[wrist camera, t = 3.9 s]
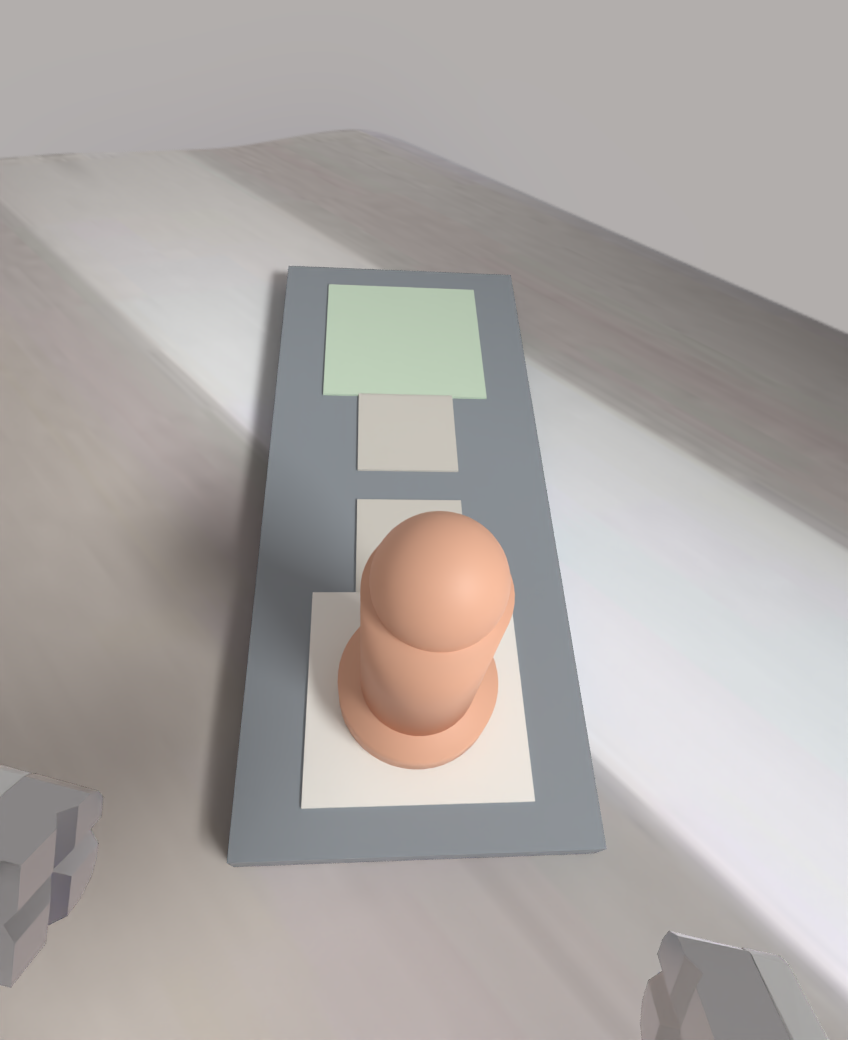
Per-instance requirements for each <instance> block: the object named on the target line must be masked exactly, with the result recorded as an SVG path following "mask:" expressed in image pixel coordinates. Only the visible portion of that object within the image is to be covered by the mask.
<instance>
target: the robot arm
mask: <svg viewBox="0 0 848 1040" xmlns="http://www.w3.org/2000/svg"><path fill="white" fill-rule="evenodd" d="M102 805H103V796H102V794H101V793H100V792H99V791H98V790H95V789H91V788H87V787H84V786H80V785H76V784H73V783H69V782H65V781H62V780H58V779H54V778H51V777H47V776H43V775H40V774H36V773H34V774H32V773H30V772H26V771H23V770H19V769H15V768H12V767H8V766H4V765H0V985H2V986H7V987H12V986H13V984H14V983H15V982H16V981H17V979H18V978H19V977H20V975H21V974H22V973H23V972H24V970H25V969H26V968H27V967H28V965H29V964H30V963H31V962H32V960H33V959H34V958H35V956H36V955H37V954H38V953H39V951H40V950H41V949H42V948H43V946H44V945H45V944H46V937H47V928H48V925H50V924H52V923H54V922H56V921H58V920H60V919H62V918H64V917H66V916H68V914H69V913H70V912H71V910H72V909H73V908H74V906H75V905H76V904H77V902H78V901H79V900H80V898H81V896H82V894H83V892H84V890H85V888H86V886H87V884H88V882H89V880H90V878H91V876H92V873H93V869H94V866H95V863H96V859H97V852H98V844H99V843H98V841H97V840H96V838H95V836H94V834H93V832H92V830H91V828H92V827H93V826H94V825H95V824H96V822H97V821H98V820H99V819H100V818H101V817H102ZM657 955H658V958H659V961H660V965H661V968H662V971H661V972H660V973H658V974H657V975H655V976H654V977H652V978H651V979H649V980H648V982H647V986H646V989H645V992H644V996H643V999H642V1007H641V1020H640V1028H641V1039H642V1040H829V1039H828V1037H827V1036H826V1034H825V1032H824V1030H823V1028H822V1026H821V1024H820V1022H819V1020H818V1018H817V1017H816V1015H815V1013H814V1011H813V1009H812V1007H811V1005H810V1003H809V1001H808V1000H807V998H806V996H805V994H804V992H803V990H802V988H801V986H800V984H799V983H798V981H797V979H796V977H795V975H794V973H793V971H792V969H791V967H790V966H789V964H788V963H787V962H786V961H785V960H784V959H783V958H782V957H781V956H780V955H775V954H770V953H766V952H761V951H757V950H752V949H748V948H739V947H735V946H731V945H727V944H722V943H718V942H714V941H710V940H706V939H701V938H697V937H693V936H689V935H685V934H680V933H676V932H672V931H669V932H668V933H667V934H666V935H665V936H664V938H663V939H662V942H661V945H660V947H659V950H658V953H657Z"/></svg>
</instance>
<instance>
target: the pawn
mask: <svg viewBox="0 0 848 1040" xmlns="http://www.w3.org/2000/svg"><path fill="white" fill-rule="evenodd" d="M514 604H515V591H514V584H513V580H512V576H511V574H510V569H509V565H508V561H507V558H506V555H505V553H504V550H503V549H502V547H501V545H500V544H499V542H498V541H497V540H496V538H495V537H494V536H493V534H492V533H491V532H490V531H489V530H488V529H487V528H485V527H484V526H483V525H482V524H480V523H479V522H477V521H475V520H474V519H472V518H470V517H467V516H465V515H462V514H458V513H454V512H448V511H431V512H425V513H421V514H418V515H415V516H412V517H410V518H408V519H406V520H404V521H403V522H401V523H400V524H398V525H397V526H396V527H394V528H393V529H392V530H391V531H390V532H389V533H388V534H387V536H386V537H385V538H384V539H383V540H382V542H381V543H380V544H379V545H378V547H377V548H376V549H375V550H374V551H373V553H372V554H371V556H370V557H369V559H368V561H367V563H366V565H365V567H364V570H363V573H362V578H361V584H360V627H359V628H358V629H357V630H356V632H355V633H354V634H353V635H352V637H351V638H350V640H349V641H348V643H347V645H346V647H345V649H344V651H343V654H342V657H341V660H340V664H339V669H338V693H339V703H340V708H341V713H342V716H343V719H344V721H345V724H346V726H347V728H348V729H349V731H350V733H351V734H352V736H353V737H354V739H355V740H356V741H357V742H358V743H359V744H360V746H361V747H362V748H363V749H364V750H366V751H367V752H368V753H369V754H371V755H372V756H374V757H375V758H377V759H379V760H380V761H382V762H385V763H387V764H389V765H392V766H396V767H400V768H405V769H428V768H434V767H438V766H441V765H444V764H446V763H448V762H451V761H453V760H455V759H456V758H458V757H459V756H461V755H462V754H463V753H465V752H466V751H467V750H468V749H469V748H470V747H471V746H472V745H473V744H474V743H475V742H476V741H477V739H478V738H479V736H480V735H481V733H482V732H483V730H484V728H485V726H486V725H487V723H488V721H489V719H490V717H491V715H492V713H493V710H494V707H495V704H496V700H497V694H498V673H497V668H496V664H495V660H494V658H493V656H494V654H495V652H496V650H497V648H498V646H499V644H500V641H501V639H502V637H503V635H504V633H505V631H506V629H507V627H508V624H509V622H510V620H511V617H512V614H513V609H514Z"/></svg>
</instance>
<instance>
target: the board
mask: <svg viewBox="0 0 848 1040" xmlns="http://www.w3.org/2000/svg"><path fill="white" fill-rule="evenodd" d="M431 511H448V512H454V513H458V514H462V515H465V516H467V517H470V518H472V519H474V520H475V521H477V522H479V523H480V524H482V525H483V526H484V527H485V528H487V529H488V530H489V531H490V532H491V533H492V534H493V536H494V537H495V538H496V540H497V541H498V542H499V544H500V545H501V547H502V549H503V550H504V553H505V555H506V558H507V561H508V565H509V569H510V574H511V576H512V580H513V584H514V591H515V604H514V609H513V614H512V617H511V620H510V622H509V624H508V627H507V629H506V631H505V633H504V635H503V637H502V639H501V641H500V644H499V646H498V648H497V650H496V652H495V654H494V656H493V658H494V660H495V664H496V668H497V673H498V694H497V700H496V704H495V707H494V710H493V713H492V715H491V717H490V719H489V721H488V723H487V725H486V726H485V728H484V730H483V732H482V733H481V735H480V736H479V738H478V739H477V741H476V742H475V743H474V744H473V745H472V746H471V747H470V748H469V749H468V750H467V751H466V752H465V753H463V754H462V755H461V756H459V757H458V758H456V759H455V760H453V761H451V762H448V763H446V764H444V765H441V766H438V767H434V768H428V769H405V768H400V767H396V766H392V765H389V764H387V763H385V762H382V761H380V760H379V759H377V758H375V757H374V756H372V755H371V754H369V753H368V752H367V751H366V750H364V749H363V748H362V747H361V746H360V744H359V743H358V742H357V741H356V740H355V739H354V737H353V736H352V734H351V733H350V731H349V729H348V728H347V726H346V724H345V721H344V719H343V716H342V713H341V708H340V703H339V693H338V669H339V664H340V660H341V657H342V654H343V651H344V649H345V647H346V645H347V643H348V641H349V640H350V638H351V637H352V635H353V634H354V633H355V632H356V630H357V629H358V628H359V627H360V584H361V578H362V573H363V570H364V567H365V565H366V563H367V561H368V559H369V557H370V556H371V554H372V553H373V551H374V550H375V549H376V548H377V547H378V545H379V544H380V543H381V542H382V540H383V539H384V538H385V537H386V536H387V534H388V533H389V532H390V531H391V530H392V529H393V528H394V527H396V526H397V525H398V524H400V523H401V522H403V521H404V520H406V519H408V518H410V517H412V516H415V515H418V514H421V513H425V512H431ZM605 849H607V848H606V842H605V836H604V830H603V825H602V819H601V813H600V807H599V801H598V795H597V789H596V783H595V777H594V771H593V765H592V759H591V753H590V747H589V741H588V735H587V729H586V723H585V717H584V711H583V705H582V699H581V693H580V687H579V681H578V675H577V669H576V663H575V657H574V651H573V645H572V639H571V633H570V627H569V621H568V615H567V609H566V603H565V597H564V591H563V585H562V579H561V573H560V567H559V561H558V555H557V549H556V543H555V537H554V531H553V526H552V520H551V514H550V508H549V502H548V496H547V490H546V484H545V478H544V472H543V466H542V460H541V454H540V448H539V442H538V436H537V430H536V424H535V418H534V412H533V406H532V400H531V394H530V388H529V382H528V376H527V370H526V364H525V358H524V352H523V346H522V340H521V334H520V328H519V322H518V316H517V310H516V304H515V298H514V292H513V286H512V280H511V275H497V274H473V273H449V272H425V271H401V270H377V269H353V268H329V267H305V266H289V268H288V277H287V287H286V297H285V306H284V316H283V325H282V335H281V345H280V354H279V364H278V374H277V383H276V393H275V403H274V412H273V422H272V432H271V441H270V451H269V460H268V470H267V480H266V489H265V499H264V509H263V518H262V528H261V538H260V547H259V557H258V567H257V576H256V586H255V595H254V605H253V615H252V624H251V634H250V644H249V653H248V663H247V673H246V682H245V692H244V702H243V711H242V721H241V730H240V740H239V750H238V759H237V769H236V779H235V788H234V798H233V808H232V817H231V827H230V837H229V846H228V856H227V863H228V864H229V865H231V866H233V867H243V866H270V865H296V864H323V863H349V862H376V861H402V860H429V859H456V858H482V857H509V856H535V855H562V854H588V853H597V852H599V851H602V850H605Z"/></svg>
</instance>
